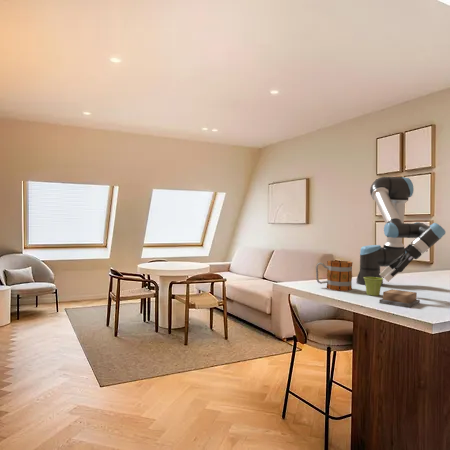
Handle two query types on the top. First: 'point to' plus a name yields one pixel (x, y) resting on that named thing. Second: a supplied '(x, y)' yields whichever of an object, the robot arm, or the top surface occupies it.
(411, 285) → the top surface
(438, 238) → the robot arm
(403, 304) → the plinth
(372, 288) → the plant pot
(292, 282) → the top surface
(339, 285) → the mug
